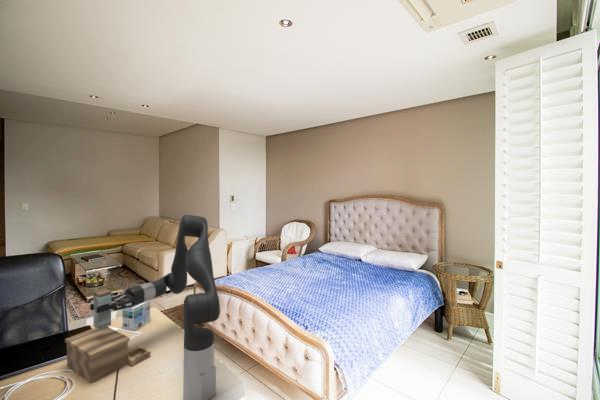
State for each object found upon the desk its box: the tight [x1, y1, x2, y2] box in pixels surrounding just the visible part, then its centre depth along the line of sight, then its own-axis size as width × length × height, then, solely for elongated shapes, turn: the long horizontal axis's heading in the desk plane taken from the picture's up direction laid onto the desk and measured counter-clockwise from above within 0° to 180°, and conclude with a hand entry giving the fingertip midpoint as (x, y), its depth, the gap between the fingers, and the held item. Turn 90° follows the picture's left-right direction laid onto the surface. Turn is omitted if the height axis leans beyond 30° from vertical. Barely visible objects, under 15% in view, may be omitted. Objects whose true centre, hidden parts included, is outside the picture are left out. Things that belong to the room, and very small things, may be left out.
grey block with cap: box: [92, 288, 112, 330], centre depth 103 cm, size 4×4×13 cm
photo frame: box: [108, 326, 142, 343], centre depth 121 cm, size 15×1×18 cm
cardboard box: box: [64, 326, 152, 384], centre depth 106 cm, size 21×20×10 cm
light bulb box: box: [121, 300, 151, 332], centre depth 134 cm, size 11×7×11 cm, turn 168°
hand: (93, 308), depth 101 cm, fingers closed on grey block with cap, 4 cm apart
